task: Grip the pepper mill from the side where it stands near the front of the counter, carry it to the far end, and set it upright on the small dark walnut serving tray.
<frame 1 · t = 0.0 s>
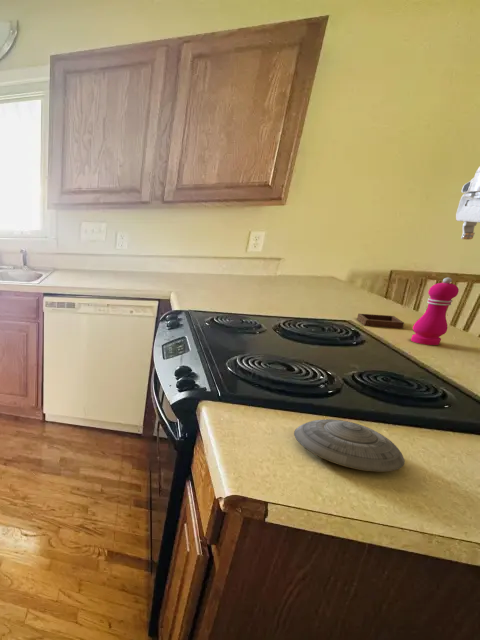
hand: (475, 240, 104), 31 cm above the worktop, tool pointing down, fingers open, 8 cm apart
tray: (378, 323, 142), on the worktop
pepper mill: (424, 342, 123), on the worktop
flying saucer: (343, 453, 70), on the worktop
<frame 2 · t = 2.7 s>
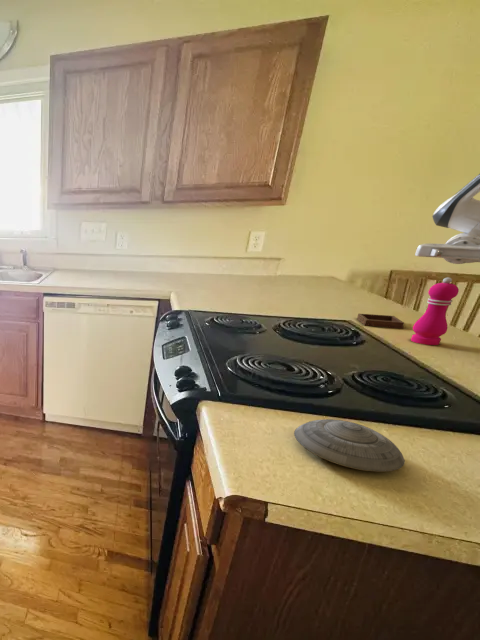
hand: (460, 255, 120), 25 cm above the worktop, tool horizontal, fingers open, 8 cm apart
nothing on the worktop moved.
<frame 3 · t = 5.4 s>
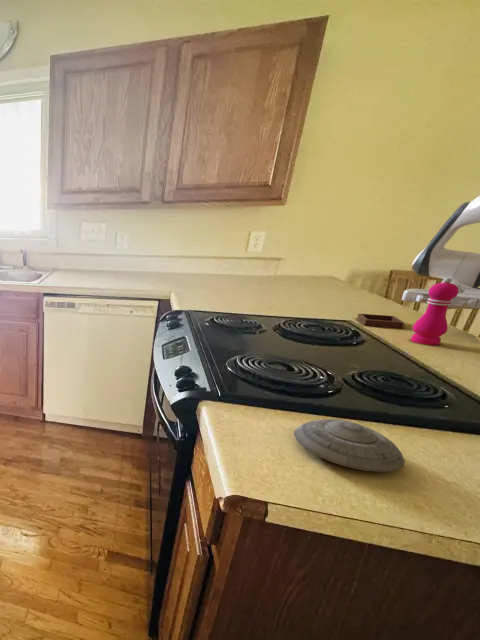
hand: (443, 302, 124), 11 cm above the worktop, tool horizontal, fingers open, 8 cm apart
nothing on the worktop moved.
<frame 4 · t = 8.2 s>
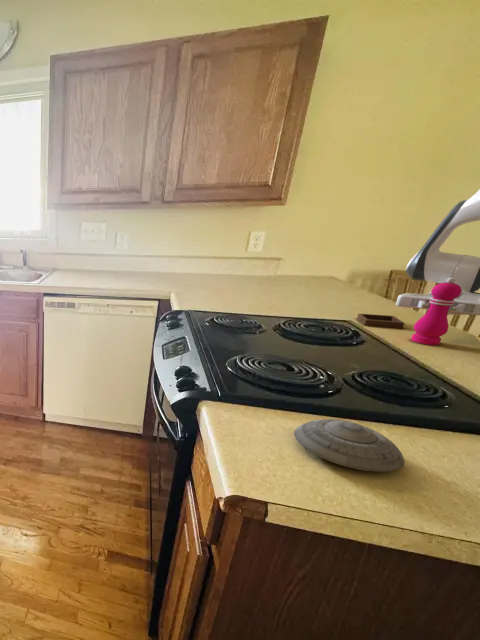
hand: (439, 308, 118), 11 cm above the worktop, tool horizontal, fingers closed on pepper mill, 5 cm apart
pepper mill: (424, 342, 123), on the worktop, touching gripper
everything else where it was.
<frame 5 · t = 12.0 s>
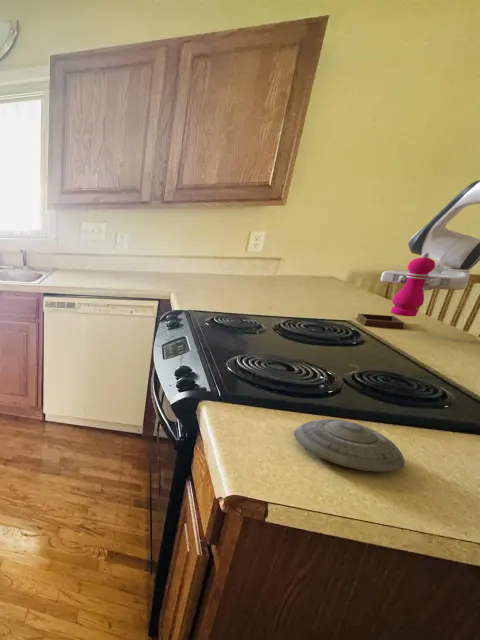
hand: (414, 281, 127), 17 cm above the worktop, tool horizontal, fingers closed on pepper mill, 5 cm apart
pepper mill: (402, 314, 132), point 6 cm above the worktop, touching gripper
everything else where it was.
when the fingers open (12 cm above the worktop, at t = 15.8 s): pepper mill stays where it is, resting on tray.
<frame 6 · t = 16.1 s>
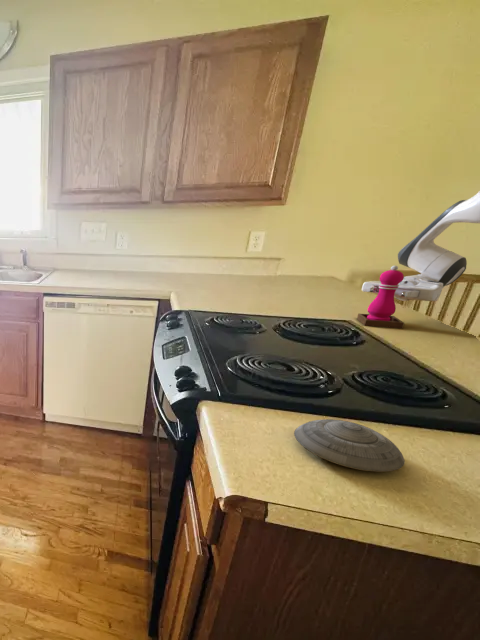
hand: (387, 292, 138), 12 cm above the worktop, tool horizontal, fingers open, 8 cm apart
pepper mill: (377, 322, 143), resting on tray
everything else where it was.
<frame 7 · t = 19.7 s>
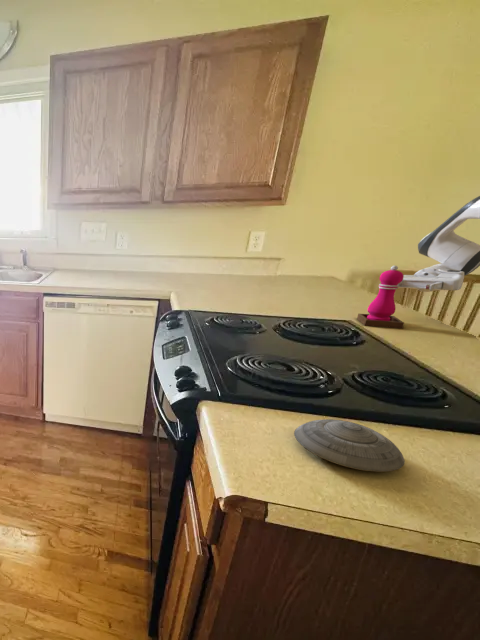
hand: (410, 286, 141), 12 cm above the worktop, tool horizontal, fingers open, 8 cm apart
nothing on the worktop moved.
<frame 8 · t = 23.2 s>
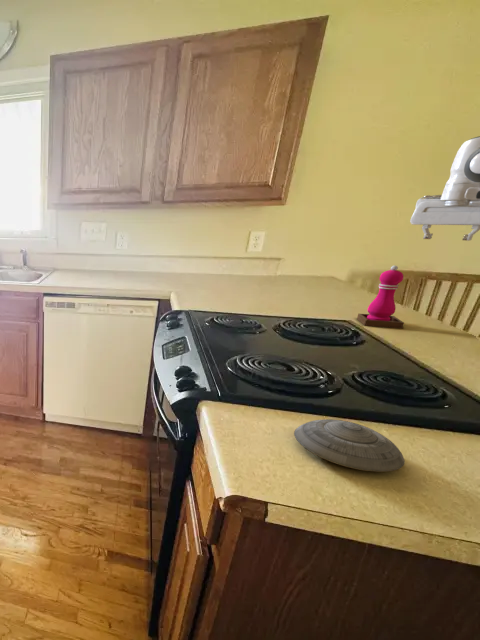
hand: (446, 239, 129), 29 cm above the worktop, tool pointing down, fingers open, 8 cm apart
nothing on the worktop moved.
at the end: pepper mill inside the target area in the tray (0.4 cm from its centre), point 0.4 cm above the tray's base; pepper mill tilted 0°; the gripper is holding nothing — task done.
